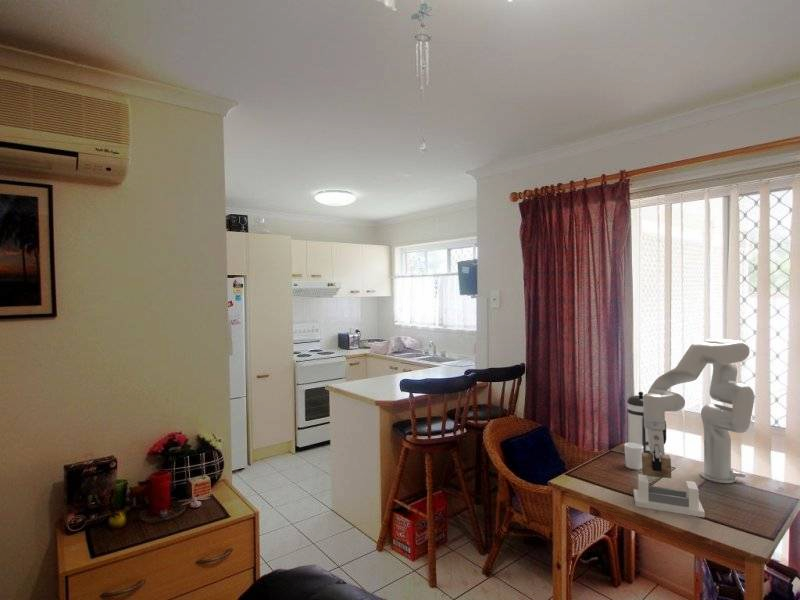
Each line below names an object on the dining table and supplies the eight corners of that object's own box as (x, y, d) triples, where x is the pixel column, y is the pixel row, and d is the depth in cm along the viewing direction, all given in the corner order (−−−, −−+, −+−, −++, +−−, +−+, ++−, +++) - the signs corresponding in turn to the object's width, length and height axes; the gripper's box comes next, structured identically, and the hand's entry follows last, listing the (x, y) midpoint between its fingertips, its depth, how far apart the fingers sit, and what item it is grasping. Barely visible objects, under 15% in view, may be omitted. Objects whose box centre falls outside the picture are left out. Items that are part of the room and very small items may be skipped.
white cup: (620, 465, 208) (620, 444, 208) (632, 462, 211) (632, 441, 211) (635, 471, 201) (635, 449, 200) (647, 468, 204) (647, 446, 204)
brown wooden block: (670, 474, 183) (669, 455, 182) (671, 478, 179) (670, 458, 179) (642, 471, 187) (641, 452, 186) (643, 475, 183) (642, 456, 183)
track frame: (698, 503, 170) (698, 480, 170) (704, 517, 160) (704, 492, 160) (633, 493, 179) (633, 471, 179) (635, 506, 169) (635, 482, 169)
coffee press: (626, 454, 221) (626, 394, 220) (623, 444, 236) (623, 387, 235) (666, 458, 215) (666, 396, 214) (660, 447, 230) (660, 389, 229)
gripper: (667, 431, 173) (669, 478, 173) (662, 418, 188) (664, 461, 189) (645, 430, 176) (647, 475, 177) (642, 417, 191) (644, 459, 192)
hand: (656, 467), depth 183 cm, fingers closed on brown wooden block, 4 cm apart
